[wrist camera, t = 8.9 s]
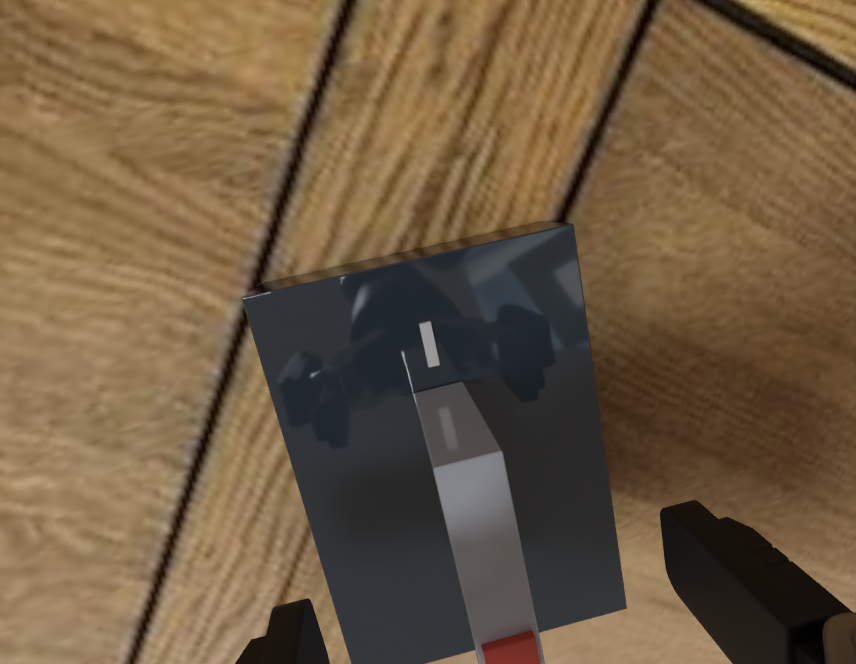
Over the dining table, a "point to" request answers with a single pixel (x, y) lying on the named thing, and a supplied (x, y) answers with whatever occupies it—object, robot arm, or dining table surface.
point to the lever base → (403, 440)
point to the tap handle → (480, 526)
